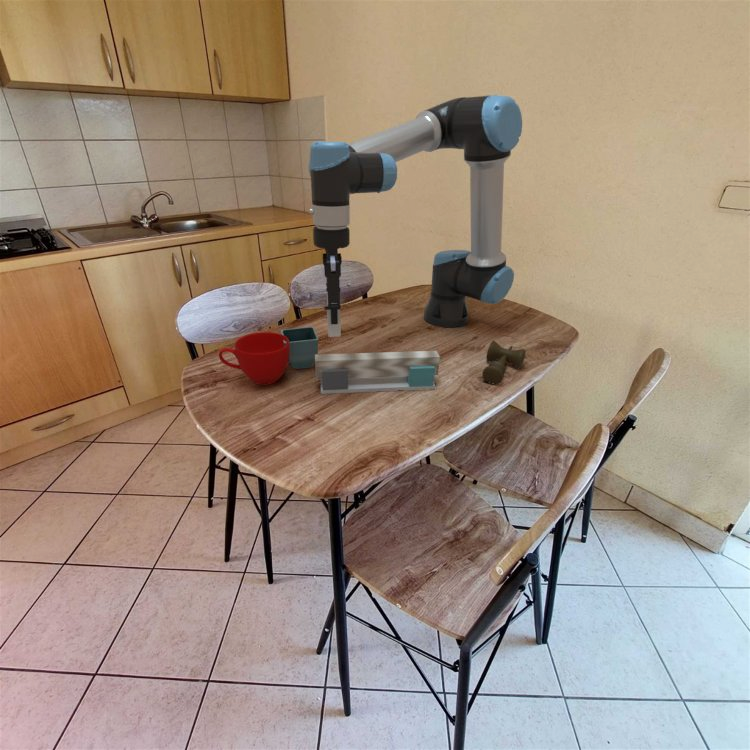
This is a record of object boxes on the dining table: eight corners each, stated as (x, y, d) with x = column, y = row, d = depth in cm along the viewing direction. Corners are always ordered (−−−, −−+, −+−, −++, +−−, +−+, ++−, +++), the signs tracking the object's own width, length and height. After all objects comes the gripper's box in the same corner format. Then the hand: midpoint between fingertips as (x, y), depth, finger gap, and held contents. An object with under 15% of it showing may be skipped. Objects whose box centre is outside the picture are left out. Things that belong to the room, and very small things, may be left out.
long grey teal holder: (428, 375, 113) (430, 355, 111) (434, 389, 107) (437, 367, 104) (320, 379, 110) (319, 358, 107) (320, 393, 104) (319, 371, 101)
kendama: (471, 381, 113) (493, 351, 128) (508, 392, 109) (526, 360, 124) (474, 361, 110) (497, 332, 125) (513, 371, 106) (531, 341, 121)
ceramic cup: (226, 369, 114) (220, 334, 109) (291, 365, 117) (288, 330, 112) (219, 394, 103) (213, 356, 98) (292, 389, 106) (289, 352, 101)
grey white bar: (434, 368, 111) (436, 350, 108) (438, 375, 108) (439, 356, 105) (315, 372, 107) (315, 354, 105) (315, 379, 104) (315, 361, 102)
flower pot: (286, 374, 113) (283, 342, 108) (283, 359, 120) (280, 329, 116) (320, 370, 115) (318, 339, 110) (315, 356, 122) (313, 326, 118)
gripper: (313, 217, 99) (317, 311, 109) (312, 237, 79) (317, 348, 90) (346, 217, 100) (347, 310, 110) (353, 237, 80) (353, 347, 91)
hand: (333, 327), depth 100 cm, fingers open, 9 cm apart
